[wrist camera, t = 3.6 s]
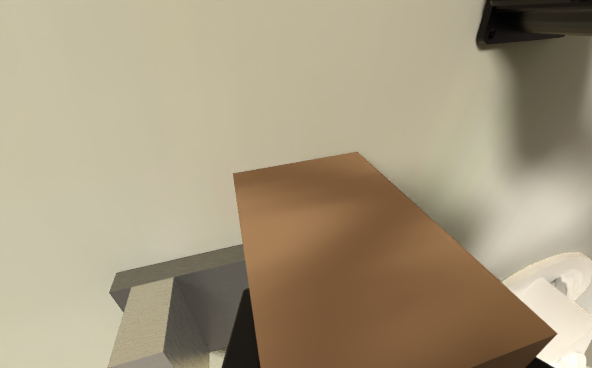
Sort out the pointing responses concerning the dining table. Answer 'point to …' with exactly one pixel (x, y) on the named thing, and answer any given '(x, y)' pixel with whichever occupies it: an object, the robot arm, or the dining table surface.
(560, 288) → the dish
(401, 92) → the dining table surface
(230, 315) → the vise base
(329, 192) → the brown rectangular block
